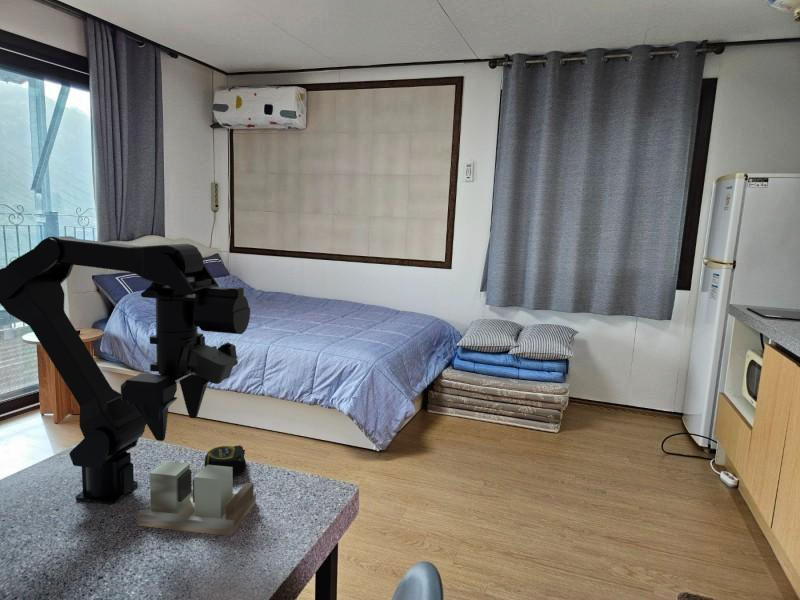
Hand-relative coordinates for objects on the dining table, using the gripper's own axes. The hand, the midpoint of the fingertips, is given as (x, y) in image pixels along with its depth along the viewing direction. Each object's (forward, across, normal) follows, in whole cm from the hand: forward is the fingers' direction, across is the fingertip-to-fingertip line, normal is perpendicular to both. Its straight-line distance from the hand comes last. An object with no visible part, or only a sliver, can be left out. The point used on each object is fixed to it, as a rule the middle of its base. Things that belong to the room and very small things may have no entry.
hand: (177, 428), depth 81 cm
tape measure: (+12, +11, -3) cm, 17 cm away
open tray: (+12, -3, -5) cm, 13 cm away
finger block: (+11, -3, -7) cm, 13 cm away
